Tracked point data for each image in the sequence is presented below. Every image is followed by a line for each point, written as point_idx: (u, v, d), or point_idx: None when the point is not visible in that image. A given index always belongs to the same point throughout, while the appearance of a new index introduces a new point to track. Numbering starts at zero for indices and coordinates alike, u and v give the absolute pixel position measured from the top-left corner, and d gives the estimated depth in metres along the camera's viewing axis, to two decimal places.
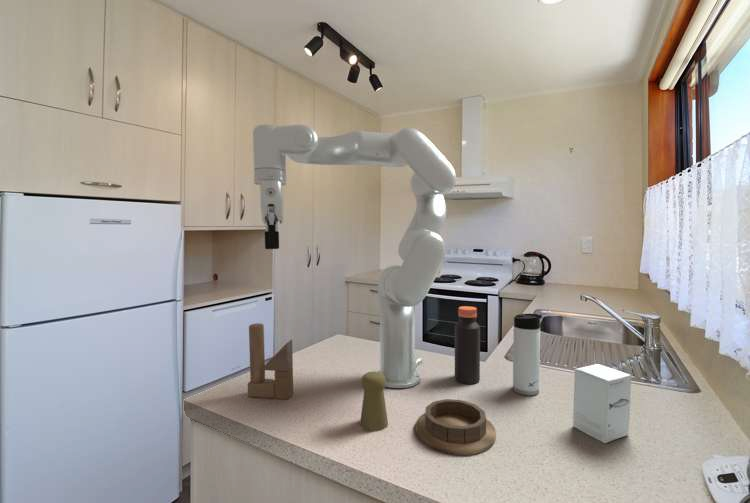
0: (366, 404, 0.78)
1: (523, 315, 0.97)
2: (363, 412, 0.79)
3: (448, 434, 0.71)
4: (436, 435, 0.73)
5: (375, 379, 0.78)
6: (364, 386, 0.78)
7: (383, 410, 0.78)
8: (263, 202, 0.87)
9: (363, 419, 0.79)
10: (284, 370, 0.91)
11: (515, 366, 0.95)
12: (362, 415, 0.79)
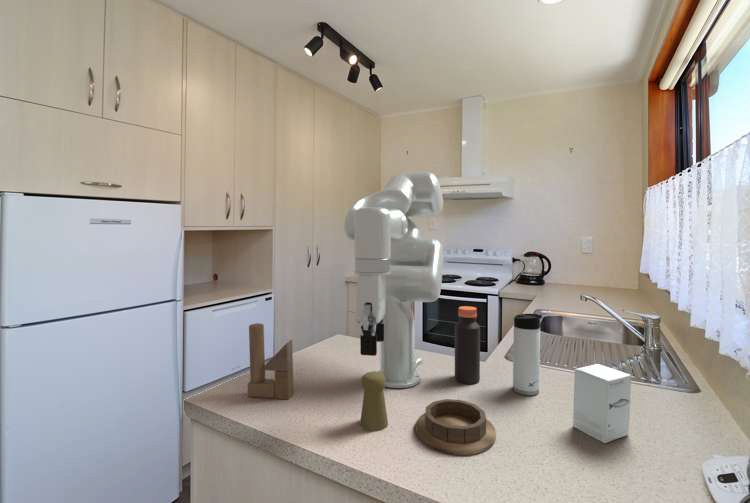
0: (366, 404, 0.78)
1: (523, 315, 0.97)
2: (363, 412, 0.79)
3: (448, 434, 0.71)
4: (436, 435, 0.73)
5: (374, 379, 0.78)
6: (364, 386, 0.78)
7: (383, 410, 0.78)
8: None
9: (363, 419, 0.79)
10: (284, 370, 0.91)
11: (515, 366, 0.95)
12: (362, 415, 0.79)
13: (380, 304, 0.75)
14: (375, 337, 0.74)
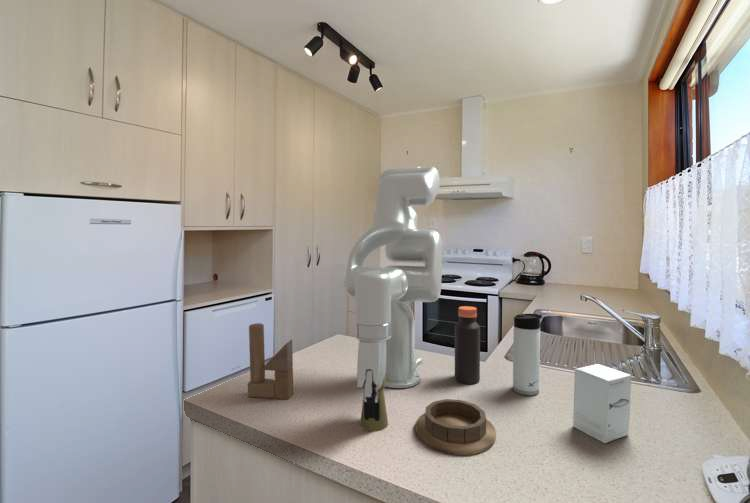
0: None
1: (523, 315, 0.97)
2: (363, 412, 0.79)
3: (448, 434, 0.71)
4: (436, 435, 0.73)
5: None
6: (364, 386, 0.78)
7: (383, 410, 0.78)
8: None
9: (363, 419, 0.79)
10: (284, 370, 0.91)
11: (515, 366, 0.95)
12: (362, 415, 0.79)
13: (381, 370, 0.76)
14: (378, 403, 0.77)
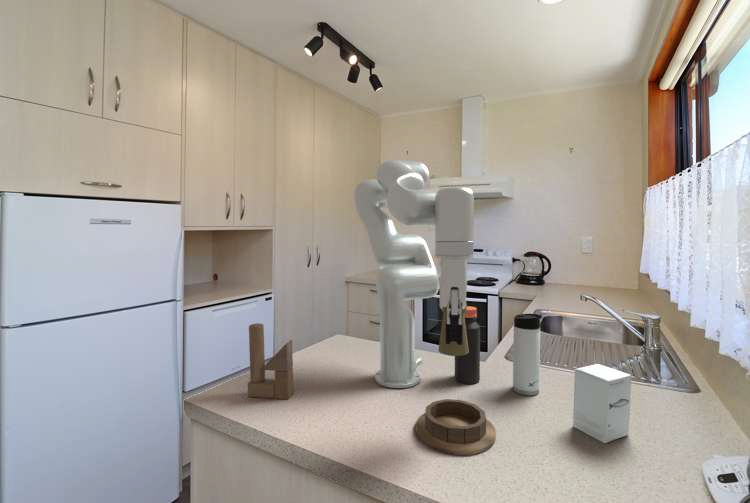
0: None
1: (523, 315, 0.97)
2: (443, 337, 0.74)
3: (448, 434, 0.71)
4: (436, 435, 0.73)
5: None
6: (445, 309, 0.74)
7: (464, 335, 0.74)
8: None
9: (444, 344, 0.74)
10: (284, 370, 0.91)
11: (515, 366, 0.95)
12: (442, 341, 0.75)
13: (466, 289, 0.71)
14: (461, 326, 0.73)
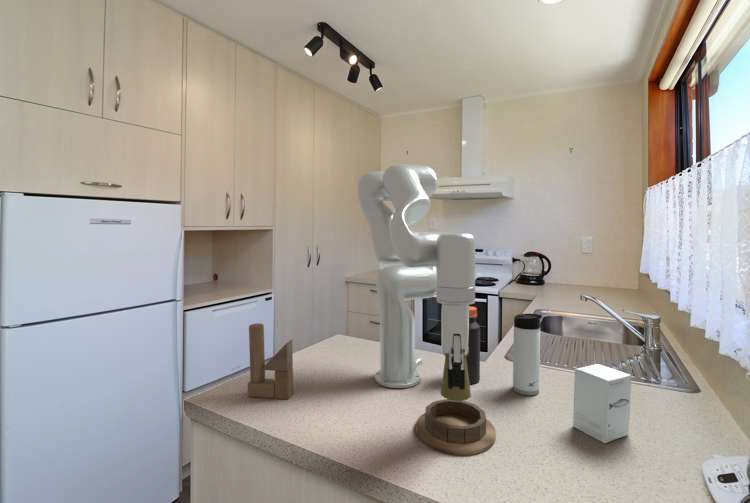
0: None
1: (523, 315, 0.97)
2: (445, 381, 0.75)
3: (448, 434, 0.71)
4: (436, 435, 0.73)
5: None
6: (447, 353, 0.74)
7: (467, 379, 0.74)
8: None
9: (446, 388, 0.74)
10: (284, 370, 0.91)
11: (515, 366, 0.95)
12: (444, 384, 0.75)
13: None
14: (463, 371, 0.73)
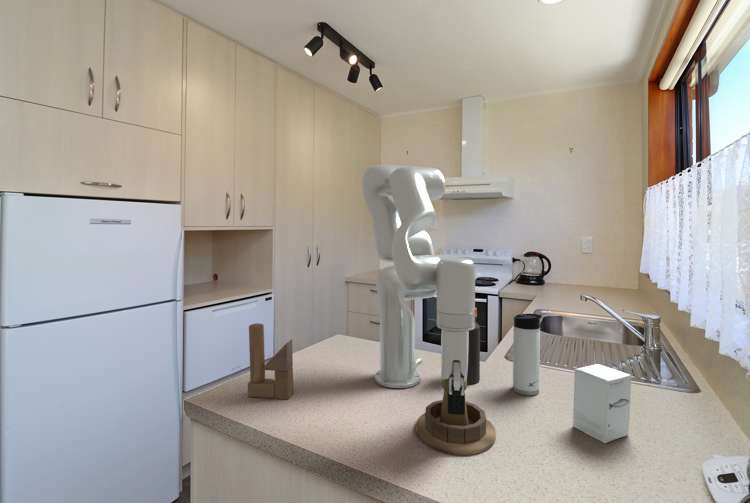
0: None
1: (523, 315, 0.97)
2: (444, 414, 0.76)
3: (448, 434, 0.71)
4: (436, 435, 0.73)
5: None
6: (446, 387, 0.75)
7: (465, 412, 0.75)
8: None
9: (445, 421, 0.75)
10: (284, 370, 0.91)
11: (515, 366, 0.95)
12: (443, 417, 0.76)
13: (467, 361, 0.72)
14: (463, 396, 0.71)
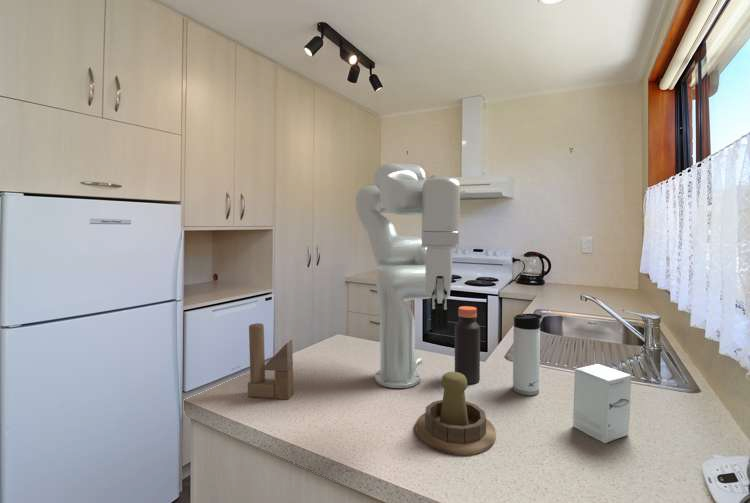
0: (448, 405, 0.75)
1: (523, 315, 0.97)
2: (444, 414, 0.76)
3: (448, 434, 0.71)
4: (436, 435, 0.73)
5: (457, 379, 0.75)
6: (446, 387, 0.75)
7: (465, 412, 0.75)
8: None
9: (445, 421, 0.75)
10: (284, 370, 0.91)
11: (515, 366, 0.95)
12: (443, 417, 0.76)
13: None
14: (446, 311, 0.72)
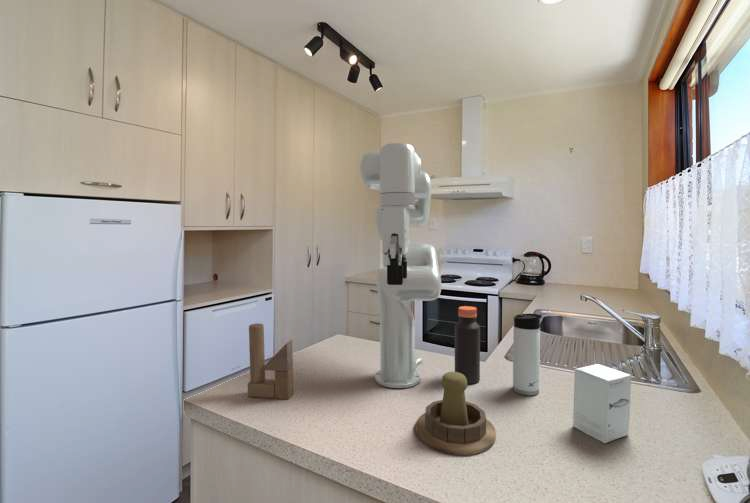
0: (448, 405, 0.75)
1: (523, 315, 0.97)
2: (444, 414, 0.76)
3: (448, 434, 0.71)
4: (436, 435, 0.73)
5: (457, 379, 0.75)
6: (446, 387, 0.75)
7: (465, 412, 0.75)
8: None
9: (445, 421, 0.75)
10: (284, 370, 0.91)
11: (515, 366, 0.95)
12: (443, 417, 0.76)
13: (406, 236, 0.77)
14: (401, 267, 0.76)
